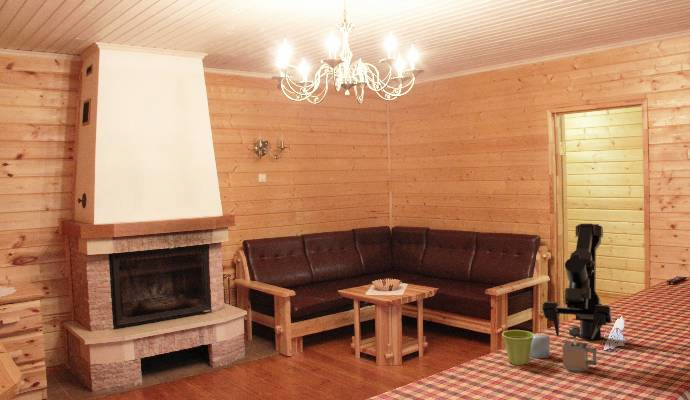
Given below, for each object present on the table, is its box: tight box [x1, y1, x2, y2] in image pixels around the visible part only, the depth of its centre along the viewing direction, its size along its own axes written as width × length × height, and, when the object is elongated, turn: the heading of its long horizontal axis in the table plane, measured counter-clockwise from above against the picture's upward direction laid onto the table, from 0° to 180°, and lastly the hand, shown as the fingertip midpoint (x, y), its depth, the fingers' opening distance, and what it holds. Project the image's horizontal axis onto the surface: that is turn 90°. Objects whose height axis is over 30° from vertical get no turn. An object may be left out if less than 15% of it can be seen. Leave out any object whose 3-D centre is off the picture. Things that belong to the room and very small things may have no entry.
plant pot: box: [501, 329, 535, 366], centre depth 180 cm, size 9×9×9 cm
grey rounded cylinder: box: [530, 333, 551, 359], centre depth 185 cm, size 6×6×6 cm
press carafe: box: [561, 340, 598, 373], centre depth 171 cm, size 7×9×7 cm
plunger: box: [568, 326, 581, 346], centre depth 172 cm, size 3×3×9 cm
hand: (574, 337), depth 170 cm, fingers open, 9 cm apart
